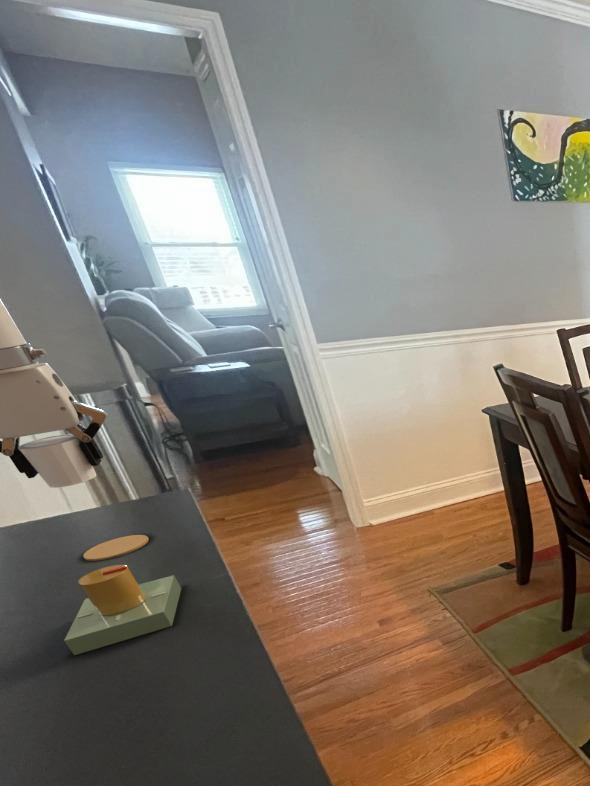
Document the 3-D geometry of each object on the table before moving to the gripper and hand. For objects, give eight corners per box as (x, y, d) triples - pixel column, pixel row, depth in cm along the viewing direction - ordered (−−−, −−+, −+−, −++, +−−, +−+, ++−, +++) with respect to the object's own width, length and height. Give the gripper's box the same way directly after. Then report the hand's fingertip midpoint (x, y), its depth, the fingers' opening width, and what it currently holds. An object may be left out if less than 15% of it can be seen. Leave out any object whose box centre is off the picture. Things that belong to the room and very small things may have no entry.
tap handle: (95, 620, 82) (72, 586, 79) (102, 603, 85) (81, 571, 83) (143, 606, 84) (123, 573, 81) (148, 590, 88) (129, 559, 85)
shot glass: (57, 491, 95) (31, 450, 91) (34, 486, 97) (7, 446, 94) (110, 474, 100) (87, 435, 97) (87, 470, 103) (64, 431, 99)
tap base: (74, 655, 79) (62, 639, 78) (94, 612, 88) (84, 598, 86) (172, 626, 84) (162, 610, 83) (181, 588, 93) (173, 574, 91)
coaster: (79, 566, 100) (77, 564, 100) (90, 546, 106) (89, 544, 106) (144, 549, 104) (143, 547, 104) (152, 532, 111) (151, 530, 110)
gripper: (83, 347, 97) (140, 450, 105) (-78, 366, 88) (-3, 476, 96) (71, 355, 91) (132, 462, 99) (-102, 375, 82) (-19, 491, 91)
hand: (65, 468), depth 98 cm, fingers closed on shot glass, 6 cm apart
